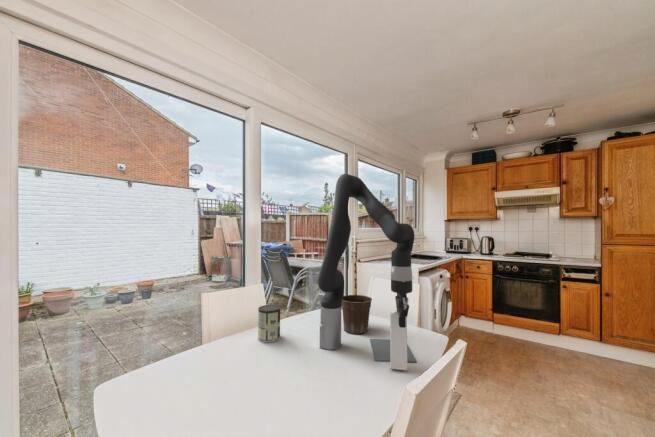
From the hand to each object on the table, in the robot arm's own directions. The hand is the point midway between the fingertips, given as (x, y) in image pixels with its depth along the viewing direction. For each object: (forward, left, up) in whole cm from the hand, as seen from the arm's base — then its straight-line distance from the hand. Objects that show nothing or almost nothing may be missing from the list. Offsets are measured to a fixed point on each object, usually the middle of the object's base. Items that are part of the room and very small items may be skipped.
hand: (402, 326), depth 102 cm
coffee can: (-55, +28, -17) cm, 64 cm away
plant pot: (-14, +42, -17) cm, 47 cm away
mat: (0, +19, -17) cm, 25 cm away
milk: (0, +4, -16) cm, 17 cm away
